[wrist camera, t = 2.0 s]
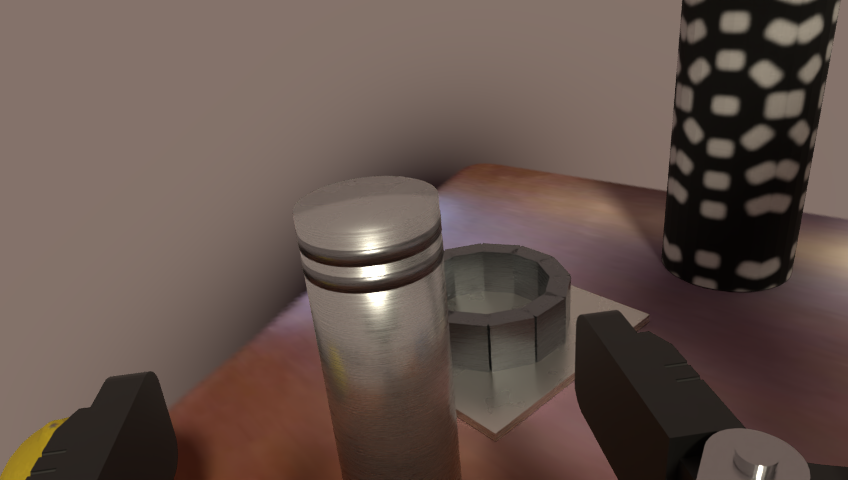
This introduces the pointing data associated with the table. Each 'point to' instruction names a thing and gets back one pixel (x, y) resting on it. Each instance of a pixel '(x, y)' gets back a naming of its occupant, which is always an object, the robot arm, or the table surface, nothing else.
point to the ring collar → (513, 331)
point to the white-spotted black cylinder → (744, 137)
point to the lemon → (29, 452)
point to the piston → (382, 325)
